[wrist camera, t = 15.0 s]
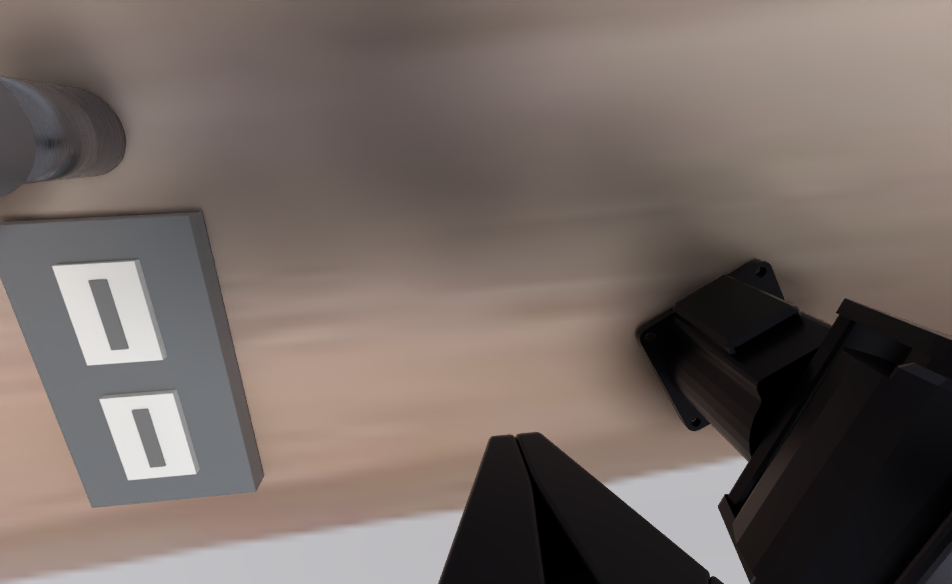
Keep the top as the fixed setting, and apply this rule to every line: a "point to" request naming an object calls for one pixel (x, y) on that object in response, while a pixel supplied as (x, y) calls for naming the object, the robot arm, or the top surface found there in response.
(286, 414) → the top surface
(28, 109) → the grey grooved cylinder
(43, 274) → the label plate
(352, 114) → the top surface
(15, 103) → the swing bar
